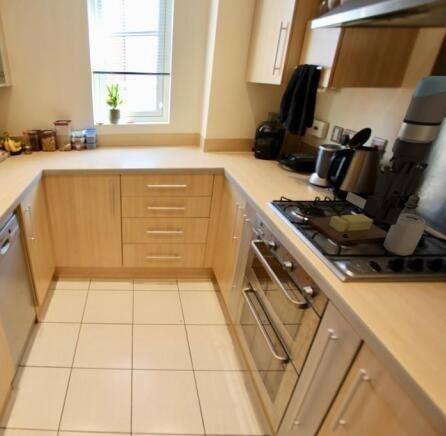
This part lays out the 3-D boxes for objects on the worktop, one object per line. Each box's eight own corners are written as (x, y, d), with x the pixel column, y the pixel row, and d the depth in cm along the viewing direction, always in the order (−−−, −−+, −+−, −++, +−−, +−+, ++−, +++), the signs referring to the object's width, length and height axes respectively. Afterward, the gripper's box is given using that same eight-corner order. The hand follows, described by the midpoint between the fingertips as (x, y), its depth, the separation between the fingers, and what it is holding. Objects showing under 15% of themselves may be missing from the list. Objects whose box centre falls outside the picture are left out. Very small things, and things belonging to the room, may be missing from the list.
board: (392, 240, 106) (394, 236, 106) (337, 244, 105) (338, 241, 104) (355, 218, 120) (357, 214, 120) (306, 222, 119) (307, 218, 118)
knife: (395, 224, 92) (402, 209, 90) (390, 225, 92) (396, 209, 89) (348, 199, 108) (353, 185, 105) (343, 199, 107) (348, 186, 105)
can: (413, 250, 101) (430, 217, 95) (410, 260, 96) (427, 225, 91) (384, 241, 106) (398, 209, 100) (380, 250, 101) (394, 217, 96)
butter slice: (344, 231, 109) (347, 222, 108) (339, 231, 109) (342, 222, 108) (334, 224, 114) (337, 215, 112) (329, 224, 114) (331, 216, 112)
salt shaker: (397, 225, 115) (411, 195, 109) (390, 218, 120) (403, 189, 114) (416, 227, 113) (431, 197, 108) (409, 220, 118) (422, 190, 113)
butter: (369, 229, 110) (373, 220, 109) (348, 230, 109) (352, 222, 108) (358, 222, 115) (362, 213, 113) (338, 224, 114) (341, 215, 112)
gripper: (425, 134, 88) (392, 210, 99) (377, 137, 87) (349, 213, 98) (453, 141, 82) (415, 221, 93) (402, 144, 80) (369, 225, 91)
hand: (381, 217), depth 95 cm, fingers closed on knife, 2 cm apart
